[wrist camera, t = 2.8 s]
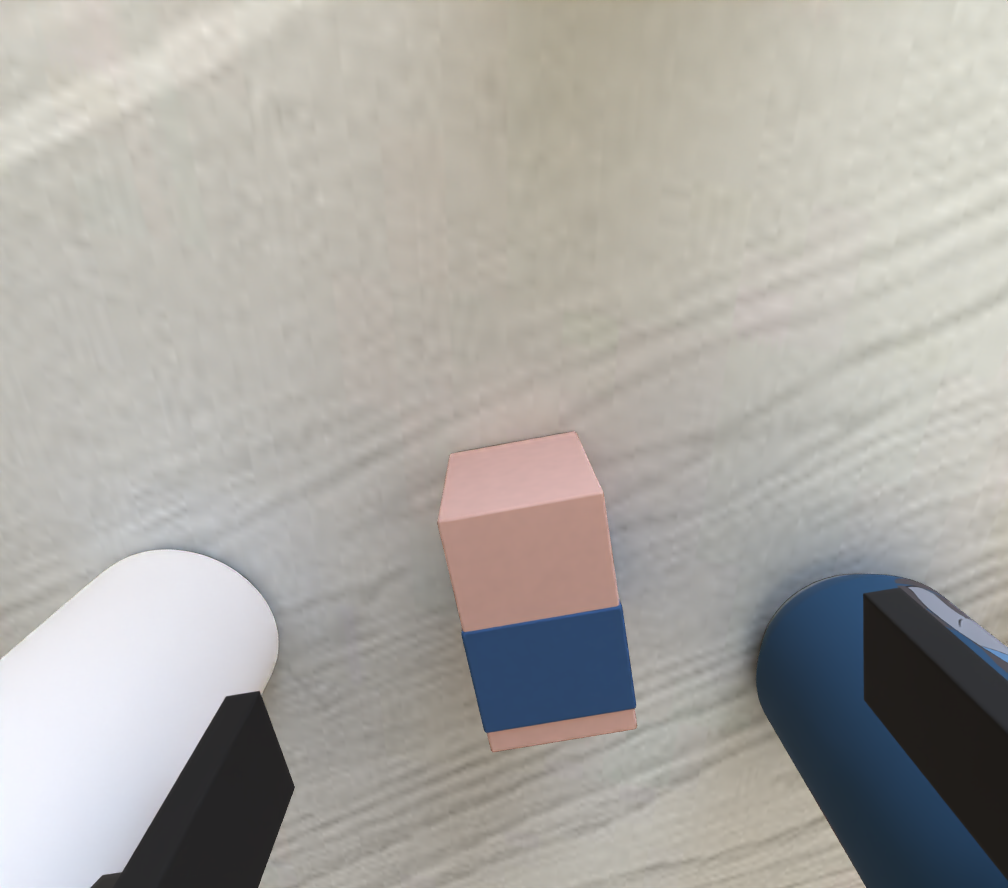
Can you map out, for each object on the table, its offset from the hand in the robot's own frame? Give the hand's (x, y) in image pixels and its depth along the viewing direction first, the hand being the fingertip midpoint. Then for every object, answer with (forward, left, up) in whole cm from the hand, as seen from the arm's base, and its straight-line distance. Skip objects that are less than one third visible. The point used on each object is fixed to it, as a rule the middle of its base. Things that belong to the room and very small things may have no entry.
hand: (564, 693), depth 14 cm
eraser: (0, 0, -7) cm, 7 cm away
